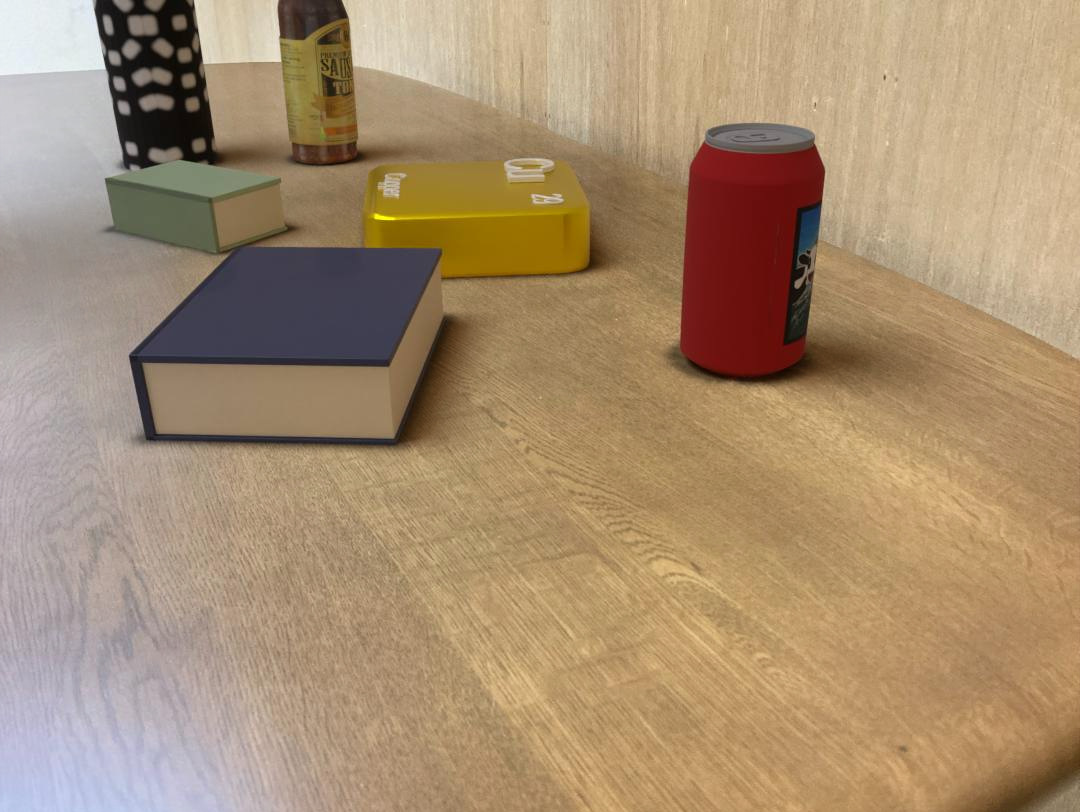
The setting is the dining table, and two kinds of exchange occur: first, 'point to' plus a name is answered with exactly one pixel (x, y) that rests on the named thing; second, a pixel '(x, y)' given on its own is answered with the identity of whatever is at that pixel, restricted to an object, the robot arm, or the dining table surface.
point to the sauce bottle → (318, 80)
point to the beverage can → (750, 248)
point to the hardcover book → (196, 205)
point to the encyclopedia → (294, 348)
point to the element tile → (482, 215)
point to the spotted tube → (156, 81)
